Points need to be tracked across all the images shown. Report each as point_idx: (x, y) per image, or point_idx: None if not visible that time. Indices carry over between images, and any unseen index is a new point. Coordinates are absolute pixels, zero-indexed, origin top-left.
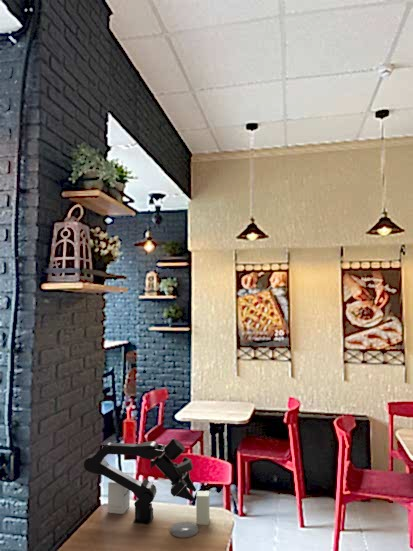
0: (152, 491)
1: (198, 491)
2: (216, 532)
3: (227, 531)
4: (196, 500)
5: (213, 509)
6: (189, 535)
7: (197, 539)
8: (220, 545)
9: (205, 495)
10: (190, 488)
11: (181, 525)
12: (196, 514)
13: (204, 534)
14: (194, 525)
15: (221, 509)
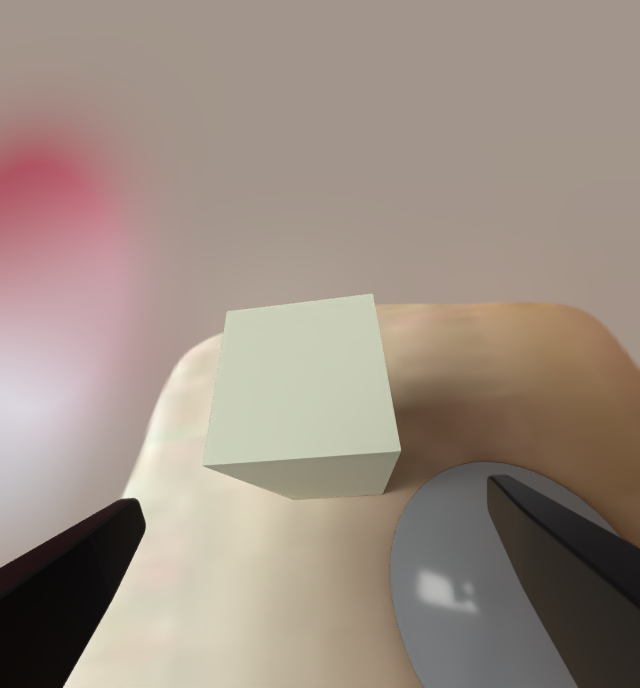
0: None
1: (224, 442)
2: (454, 353)
3: (425, 307)
4: (393, 463)
5: (177, 406)
6: (608, 524)
7: (597, 454)
8: (588, 316)
9: (354, 329)
10: (80, 630)
11: (466, 641)
12: (385, 485)
13: (506, 416)
14: (431, 503)
15: (184, 364)
